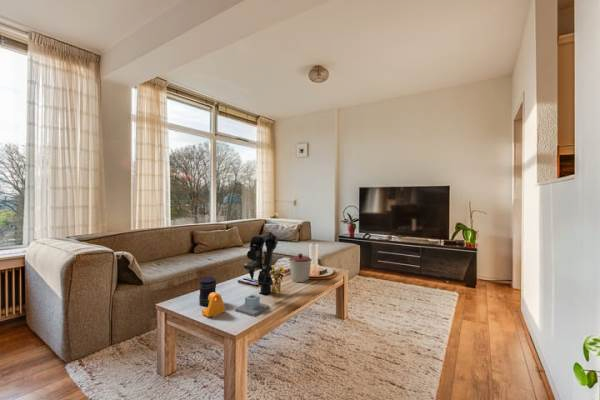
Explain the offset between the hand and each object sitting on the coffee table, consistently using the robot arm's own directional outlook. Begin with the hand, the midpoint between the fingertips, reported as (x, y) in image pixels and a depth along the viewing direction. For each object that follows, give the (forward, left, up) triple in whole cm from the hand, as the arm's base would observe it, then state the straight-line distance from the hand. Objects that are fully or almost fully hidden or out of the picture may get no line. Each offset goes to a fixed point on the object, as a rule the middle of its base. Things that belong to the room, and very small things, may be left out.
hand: (257, 280), depth 179 cm
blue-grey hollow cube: (+6, -12, -12) cm, 18 cm away
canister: (+1, +50, -13) cm, 52 cm away
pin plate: (+6, -12, -13) cm, 19 cm away
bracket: (-9, -28, -13) cm, 32 cm away
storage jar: (-23, -20, -13) cm, 33 cm away
